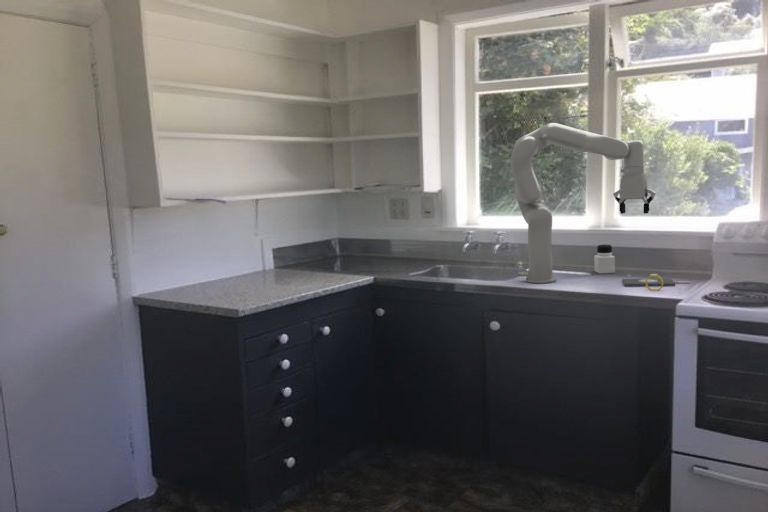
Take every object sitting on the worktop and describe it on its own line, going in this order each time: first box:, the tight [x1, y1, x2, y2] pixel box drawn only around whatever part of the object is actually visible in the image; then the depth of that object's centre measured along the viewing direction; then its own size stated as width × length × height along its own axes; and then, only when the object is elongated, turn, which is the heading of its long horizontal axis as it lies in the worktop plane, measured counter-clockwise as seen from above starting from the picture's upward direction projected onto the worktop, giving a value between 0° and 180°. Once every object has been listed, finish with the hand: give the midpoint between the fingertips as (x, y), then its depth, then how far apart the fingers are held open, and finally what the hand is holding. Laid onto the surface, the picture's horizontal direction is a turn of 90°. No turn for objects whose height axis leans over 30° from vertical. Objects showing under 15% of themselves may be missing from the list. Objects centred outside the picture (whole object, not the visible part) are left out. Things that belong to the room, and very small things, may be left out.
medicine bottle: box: [593, 244, 616, 275], centre depth 297 cm, size 7×7×12 cm
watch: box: [645, 273, 664, 291], centre depth 251 cm, size 6×3×6 cm, turn 60°
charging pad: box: [622, 277, 692, 287], centre depth 264 cm, size 24×12×1 cm, turn 74°
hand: (634, 213), depth 279 cm, fingers open, 9 cm apart
